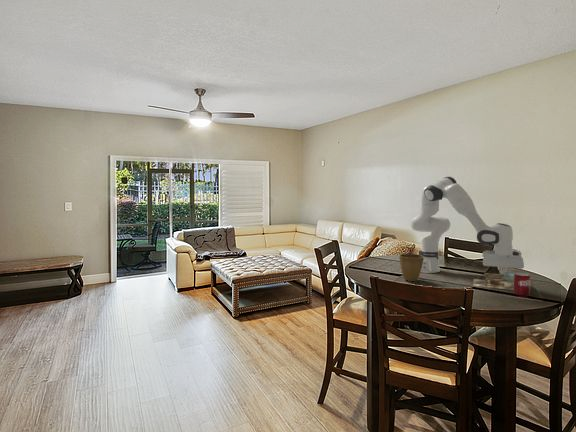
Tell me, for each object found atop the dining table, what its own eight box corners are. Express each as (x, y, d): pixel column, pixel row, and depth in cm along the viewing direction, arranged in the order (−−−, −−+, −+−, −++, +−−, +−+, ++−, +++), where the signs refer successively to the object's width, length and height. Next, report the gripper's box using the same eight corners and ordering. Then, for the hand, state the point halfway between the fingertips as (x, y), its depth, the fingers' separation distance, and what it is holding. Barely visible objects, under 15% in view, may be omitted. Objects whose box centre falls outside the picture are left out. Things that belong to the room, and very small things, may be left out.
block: (490, 284, 199) (490, 277, 199) (489, 283, 203) (490, 275, 202) (499, 285, 197) (499, 278, 196) (498, 283, 201) (498, 276, 200)
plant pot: (406, 283, 208) (406, 258, 207) (394, 277, 223) (395, 254, 222) (428, 282, 210) (428, 257, 209) (415, 276, 225) (416, 253, 224)
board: (473, 287, 198) (473, 277, 197) (473, 280, 213) (473, 271, 212) (522, 293, 186) (522, 282, 186) (519, 285, 201) (519, 275, 200)
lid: (505, 279, 191) (505, 275, 191) (503, 274, 203) (504, 270, 203) (522, 281, 187) (522, 276, 187) (519, 276, 199) (520, 271, 199)
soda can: (510, 294, 184) (510, 272, 184) (522, 293, 185) (523, 272, 184) (520, 298, 177) (521, 275, 176) (533, 297, 178) (534, 275, 177)
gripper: (482, 250, 199) (482, 273, 200) (524, 253, 188) (523, 277, 189) (482, 249, 204) (482, 271, 205) (523, 251, 194) (522, 275, 195)
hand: (502, 274), depth 197 cm, fingers closed
